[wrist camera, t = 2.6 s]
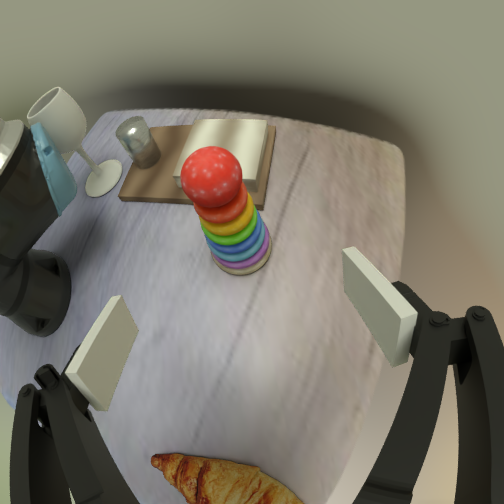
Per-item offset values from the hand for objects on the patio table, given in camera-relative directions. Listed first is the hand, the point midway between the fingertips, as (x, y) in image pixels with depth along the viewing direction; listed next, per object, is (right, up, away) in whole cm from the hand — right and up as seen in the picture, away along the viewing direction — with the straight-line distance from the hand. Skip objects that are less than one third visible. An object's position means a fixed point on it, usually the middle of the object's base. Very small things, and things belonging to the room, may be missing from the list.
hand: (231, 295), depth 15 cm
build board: (-8, +17, +28) cm, 34 cm away
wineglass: (-27, +16, +30) cm, 43 cm away
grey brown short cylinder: (-17, +19, +28) cm, 37 cm away
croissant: (-1, -28, +10) cm, 30 cm away
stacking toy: (0, +3, +22) cm, 22 cm away
